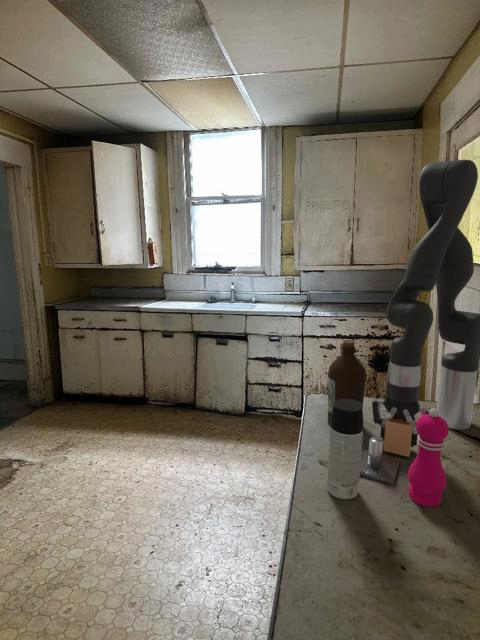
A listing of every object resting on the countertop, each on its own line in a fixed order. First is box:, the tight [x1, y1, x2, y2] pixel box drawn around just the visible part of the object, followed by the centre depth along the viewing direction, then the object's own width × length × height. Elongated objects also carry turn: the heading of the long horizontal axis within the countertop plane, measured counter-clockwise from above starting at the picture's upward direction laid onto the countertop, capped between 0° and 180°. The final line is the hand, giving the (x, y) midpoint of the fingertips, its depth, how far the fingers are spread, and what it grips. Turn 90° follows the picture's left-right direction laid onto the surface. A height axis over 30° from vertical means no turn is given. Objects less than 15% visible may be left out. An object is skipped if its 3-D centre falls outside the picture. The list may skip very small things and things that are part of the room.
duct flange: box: [360, 436, 400, 485], centre depth 94 cm, size 10×10×7 cm
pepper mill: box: [407, 407, 450, 508], centre depth 81 cm, size 7×7×20 cm
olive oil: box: [327, 339, 367, 426], centre depth 114 cm, size 11×11×25 cm
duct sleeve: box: [383, 417, 413, 458], centre depth 100 cm, size 6×6×8 cm
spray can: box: [326, 399, 365, 500], centre depth 83 cm, size 7×7×20 cm
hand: (398, 442), depth 101 cm, fingers closed on duct sleeve, 6 cm apart
